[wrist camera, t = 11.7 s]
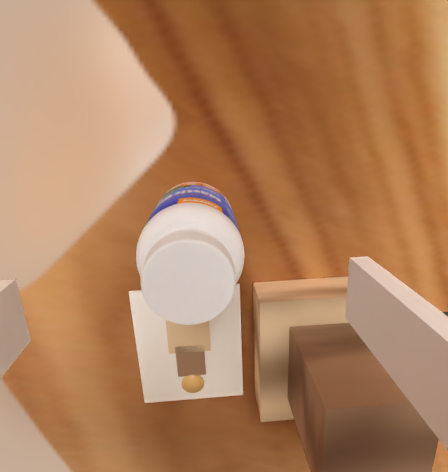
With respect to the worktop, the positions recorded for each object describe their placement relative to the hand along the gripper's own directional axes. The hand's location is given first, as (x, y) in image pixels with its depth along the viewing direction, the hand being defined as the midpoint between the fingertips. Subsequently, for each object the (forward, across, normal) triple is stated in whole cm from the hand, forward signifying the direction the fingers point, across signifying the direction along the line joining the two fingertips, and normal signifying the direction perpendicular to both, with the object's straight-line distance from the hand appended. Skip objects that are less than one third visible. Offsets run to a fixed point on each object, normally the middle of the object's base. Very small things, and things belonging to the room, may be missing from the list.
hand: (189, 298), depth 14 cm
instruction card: (+10, -1, -9) cm, 14 cm away
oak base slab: (+10, +9, -9) cm, 17 cm away
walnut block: (+8, +9, -10) cm, 15 cm away
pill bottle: (+10, 0, +1) cm, 11 cm away
